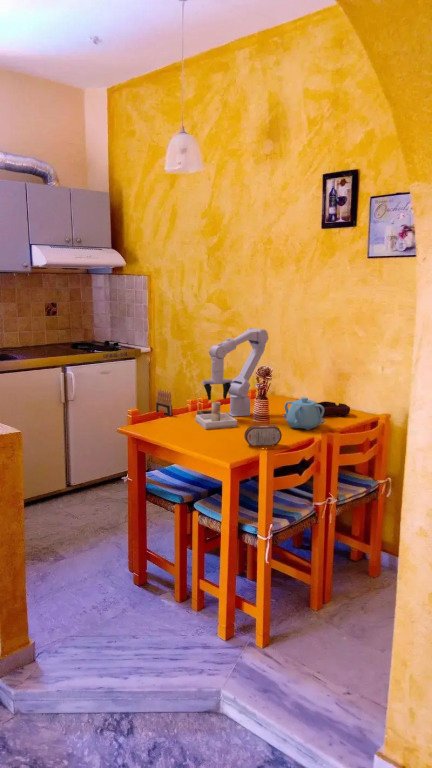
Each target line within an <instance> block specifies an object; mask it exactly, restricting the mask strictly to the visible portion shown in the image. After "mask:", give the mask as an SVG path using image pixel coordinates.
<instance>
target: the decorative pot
mask: <svg viewBox="0 0 432 768" xmlns="http://www.w3.org/2000/svg"><path fill="white" fill-rule="evenodd" d="M317 403H318V402H316V401H315V400H311V399H309V397H305V396H303V397H300V399H296V400H294V401H291V400H289V401H286V402H285V403H284V411H285V413H284V414H283V419H285V420H286V423H287V425H288V426H289V427H291V429H303V430H305V431H311V430H312V429H315V428H317V427H318V426H319V425H320V424H321V425H322V424H325V422H326V419H325V418H324V416H323V414H324V407H323V406H322V405H319V404H317ZM289 404H291V405H290V406H289V409H288V405H289ZM319 407H320V408H321V409H322V413H321V414H320V410H319ZM322 416H323V417H322Z"/></svg>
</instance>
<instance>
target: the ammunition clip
mask: <svg viewBox="0 0 432 768" xmlns="http://www.w3.org/2000/svg"><path fill="white" fill-rule="evenodd" d="M171 393H172V392H171V391H168V390H162V388H161V389H159V388H158V389H157V393H156V395H157V396H156V403H155V412H159V411H164V412H165V413H164V416H167V417H172V416H173V405H172V397H171V396H172V394H171Z"/></svg>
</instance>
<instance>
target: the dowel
mask: <svg viewBox="0 0 432 768" xmlns="http://www.w3.org/2000/svg"><path fill="white" fill-rule="evenodd" d="M211 410H212V422H215V421H220V413H221V402H220V401H212V402H211Z"/></svg>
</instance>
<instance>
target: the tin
mask: <svg viewBox="0 0 432 768" xmlns="http://www.w3.org/2000/svg"><path fill="white" fill-rule="evenodd" d="M243 435H244V441H246V443H247V444H248V445H249V446H250V447H273V446H272V445H274V446H276V445H279V443H280V442H281V440H282V436H283V434H282V431H281V430H280V428H279V426H277V425H274V424H253V425H250V426H249V427H247V428H246V430H245V431H244V434H243Z"/></svg>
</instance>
